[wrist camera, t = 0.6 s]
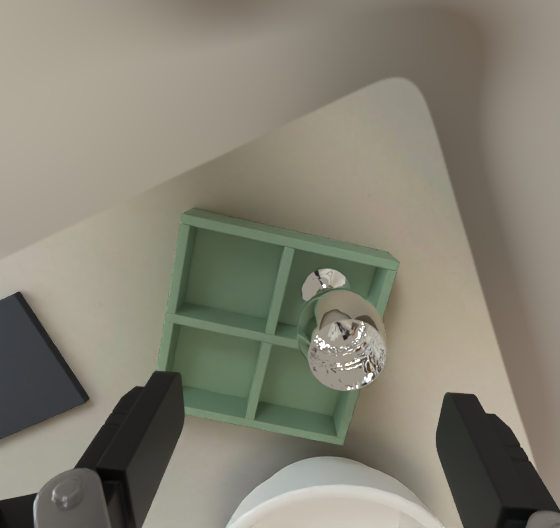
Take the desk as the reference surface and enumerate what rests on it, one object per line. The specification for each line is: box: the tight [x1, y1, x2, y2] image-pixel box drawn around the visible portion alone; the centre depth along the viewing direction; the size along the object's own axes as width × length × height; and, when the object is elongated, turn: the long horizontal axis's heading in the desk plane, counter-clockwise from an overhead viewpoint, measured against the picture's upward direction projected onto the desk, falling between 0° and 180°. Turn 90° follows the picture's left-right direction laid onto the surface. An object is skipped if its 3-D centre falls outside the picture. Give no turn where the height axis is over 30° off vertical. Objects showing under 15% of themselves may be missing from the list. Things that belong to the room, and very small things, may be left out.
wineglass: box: [296, 267, 387, 391], centre depth 29 cm, size 6×6×12 cm
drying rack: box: [156, 208, 400, 446], centre depth 34 cm, size 17×17×4 cm
